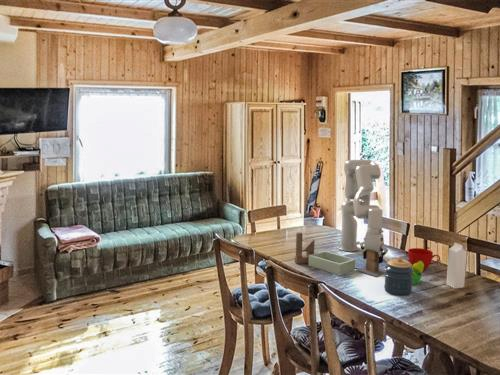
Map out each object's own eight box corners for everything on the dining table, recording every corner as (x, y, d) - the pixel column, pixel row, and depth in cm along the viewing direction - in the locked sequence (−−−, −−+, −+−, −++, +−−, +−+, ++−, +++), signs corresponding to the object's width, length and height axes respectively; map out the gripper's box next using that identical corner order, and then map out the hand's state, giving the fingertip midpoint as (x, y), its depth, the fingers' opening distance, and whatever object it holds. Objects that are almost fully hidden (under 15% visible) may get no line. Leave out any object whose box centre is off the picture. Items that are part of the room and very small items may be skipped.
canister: (408, 298, 215) (410, 262, 212) (380, 292, 222) (382, 257, 219) (414, 290, 226) (416, 255, 223) (388, 284, 233) (390, 251, 230)
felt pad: (369, 266, 262) (369, 265, 262) (389, 271, 252) (389, 270, 252) (355, 271, 253) (355, 269, 253) (375, 277, 244) (376, 276, 244)
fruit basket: (404, 277, 244) (405, 256, 243) (422, 278, 242) (423, 258, 240) (405, 284, 234) (406, 263, 232) (423, 286, 231) (425, 264, 229)
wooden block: (313, 262, 267) (314, 232, 264) (296, 264, 264) (297, 233, 262) (311, 261, 270) (312, 231, 268) (294, 262, 268) (295, 232, 265)
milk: (456, 283, 235) (459, 242, 232) (464, 287, 230) (467, 245, 226) (445, 284, 234) (449, 242, 231) (453, 288, 228) (457, 245, 225)
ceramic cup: (439, 274, 249) (440, 256, 248) (406, 270, 255) (407, 253, 253) (438, 267, 261) (439, 250, 260) (407, 263, 267) (408, 247, 266)
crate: (323, 260, 272) (324, 250, 271) (354, 269, 255) (355, 259, 254) (308, 265, 262) (308, 255, 261) (339, 275, 246) (339, 264, 245)
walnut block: (370, 268, 256) (372, 247, 254) (378, 270, 253) (379, 249, 251) (365, 270, 253) (366, 249, 251) (373, 272, 249) (374, 251, 247)
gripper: (392, 232, 245) (390, 263, 248) (364, 226, 258) (363, 255, 261) (384, 234, 240) (382, 266, 243) (357, 228, 253) (355, 258, 256)
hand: (372, 260), depth 252 cm, fingers open, 9 cm apart
